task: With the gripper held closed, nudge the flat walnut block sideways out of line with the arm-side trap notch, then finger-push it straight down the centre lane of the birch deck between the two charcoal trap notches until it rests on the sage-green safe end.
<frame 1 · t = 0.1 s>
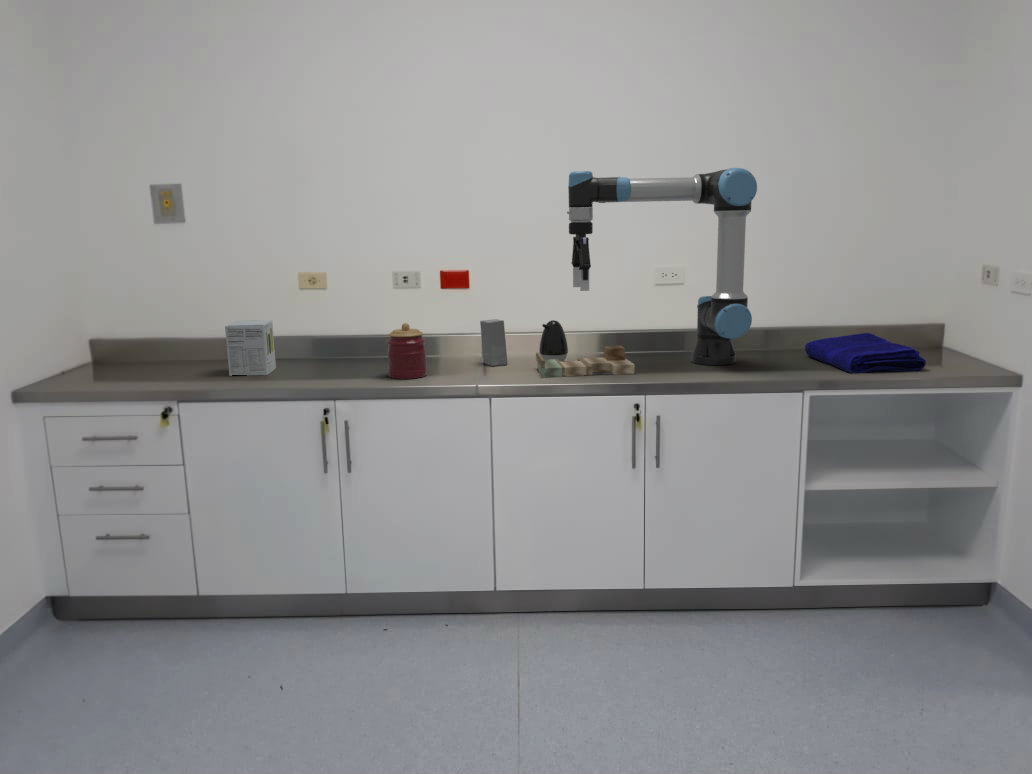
hand: (581, 289, 265), 28 cm above the counter, fingers open, 13 cm apart
canister: (408, 376, 274), on the counter
towel: (860, 364, 280), on the counter
pump dispenser: (553, 363, 293), on the counter
walnut block: (614, 358, 281), point 3 cm above the counter, touching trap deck
supplement box: (253, 372, 287), on the counter
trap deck: (584, 371, 276), on the counter
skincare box: (494, 364, 293), on the counter
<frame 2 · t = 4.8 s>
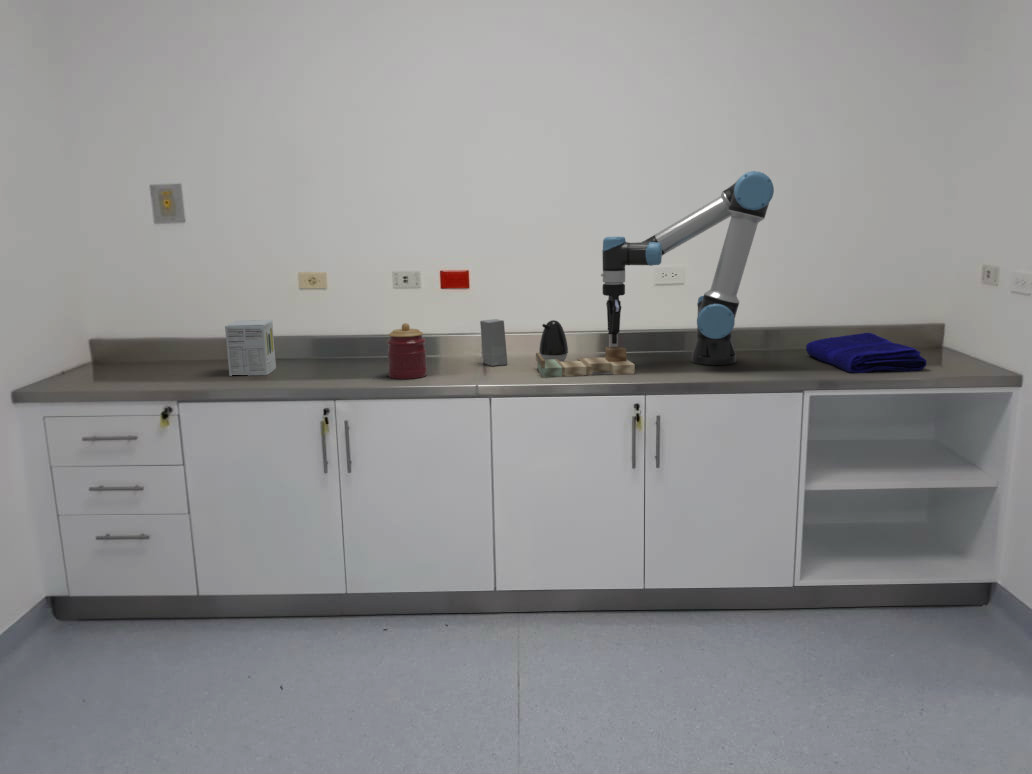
hand: (613, 352, 281), 5 cm above the counter, fingers closed
walnut block: (615, 360, 278), point 3 cm above the counter, touching gripper, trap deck
everything else where it was.
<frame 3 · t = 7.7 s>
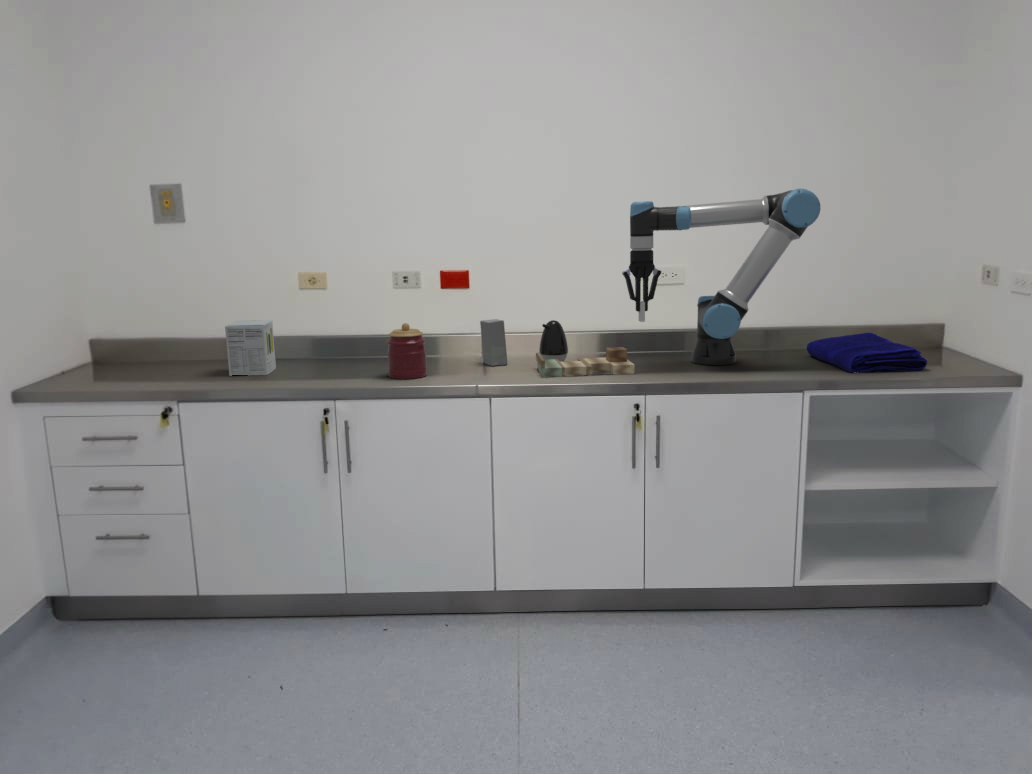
hand: (641, 321, 275), 16 cm above the counter, fingers closed
walnut block: (616, 360, 277), point 3 cm above the counter, touching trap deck
everything else where it was.
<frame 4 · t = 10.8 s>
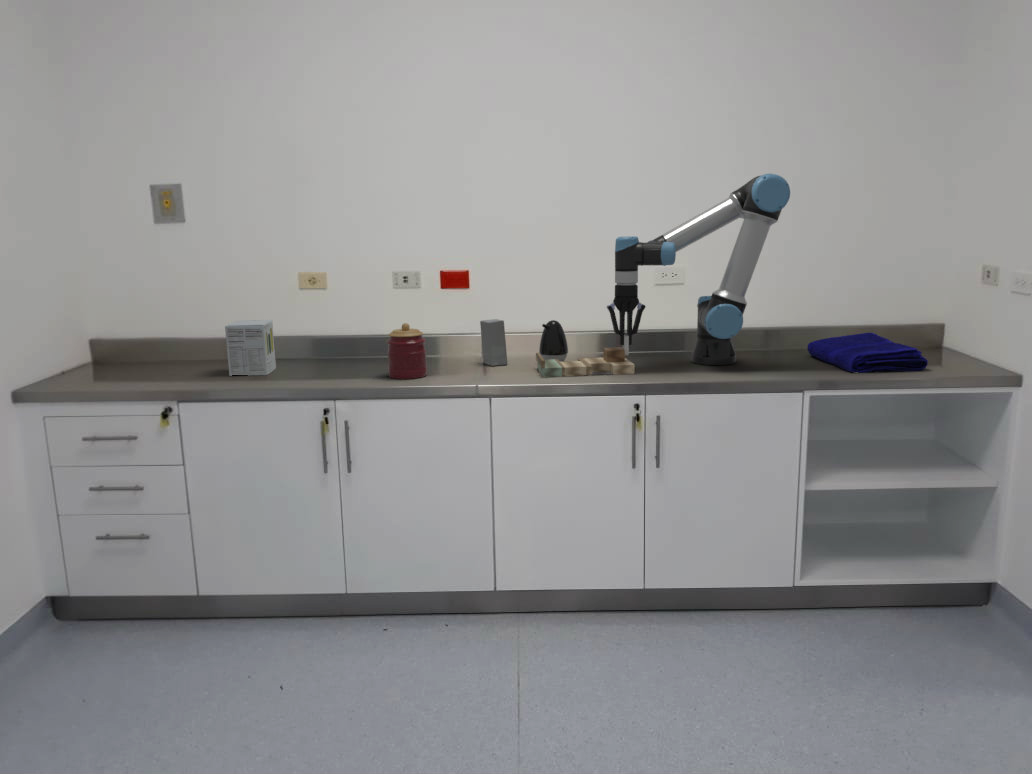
hand: (625, 354, 276), 5 cm above the counter, fingers closed
walnut block: (614, 360, 277), point 3 cm above the counter
everything else where it was.
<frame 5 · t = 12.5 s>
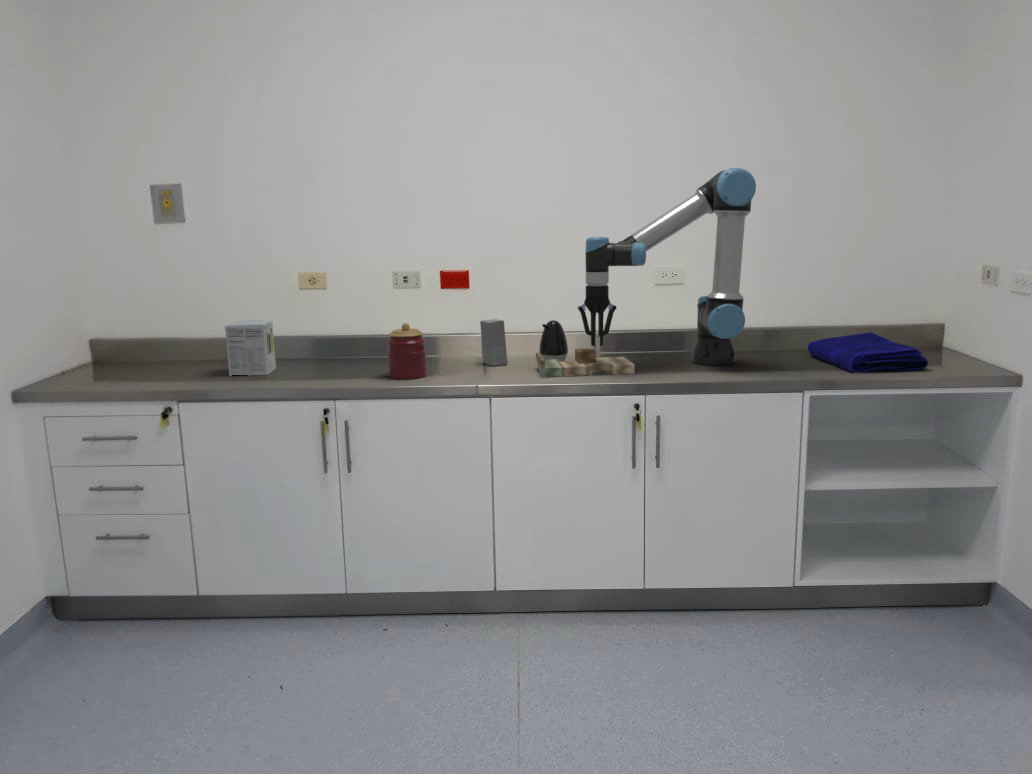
hand: (596, 355, 275), 5 cm above the counter, fingers closed
walnut block: (585, 361, 276), point 3 cm above the counter, touching gripper, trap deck
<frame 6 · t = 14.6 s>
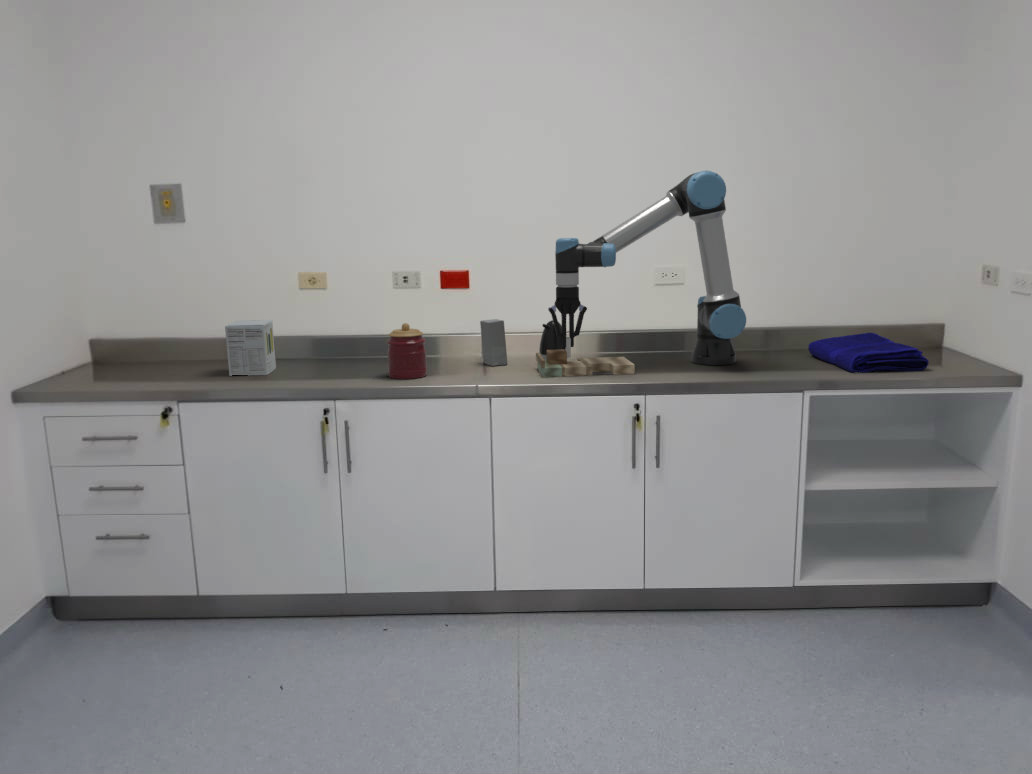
hand: (568, 356, 274), 5 cm above the counter, fingers closed
walnut block: (556, 362, 275), point 3 cm above the counter, touching gripper
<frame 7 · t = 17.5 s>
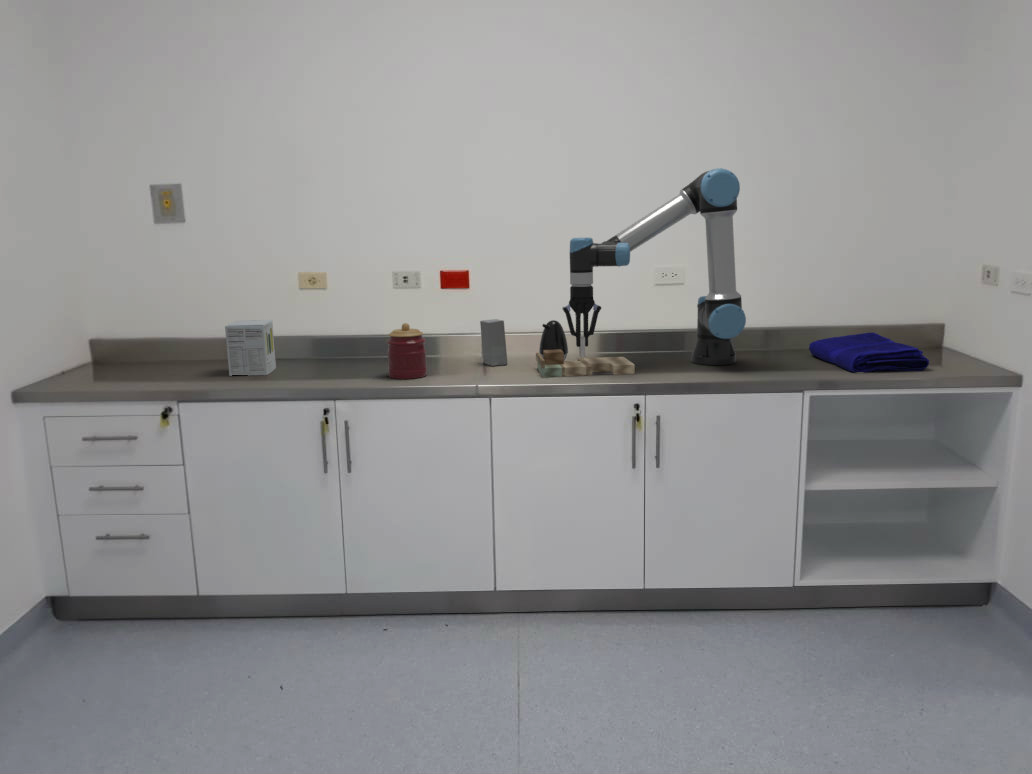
hand: (582, 356, 275), 5 cm above the counter, fingers closed
walnut block: (553, 362, 275), point 3 cm above the counter, touching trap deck
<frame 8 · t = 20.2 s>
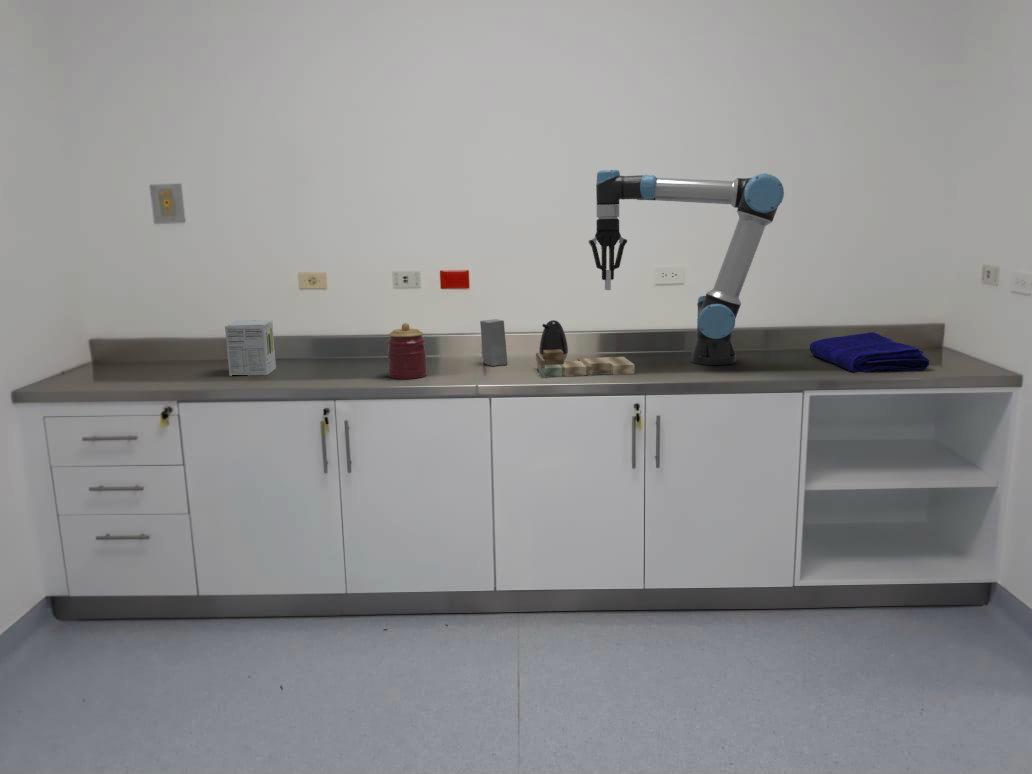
hand: (607, 289, 277), 26 cm above the counter, fingers closed
at the end: walnut block inside the target area on the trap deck (1.2 cm from its centre), point 3.0 cm above the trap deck's base; walnut block tilted 0° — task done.
